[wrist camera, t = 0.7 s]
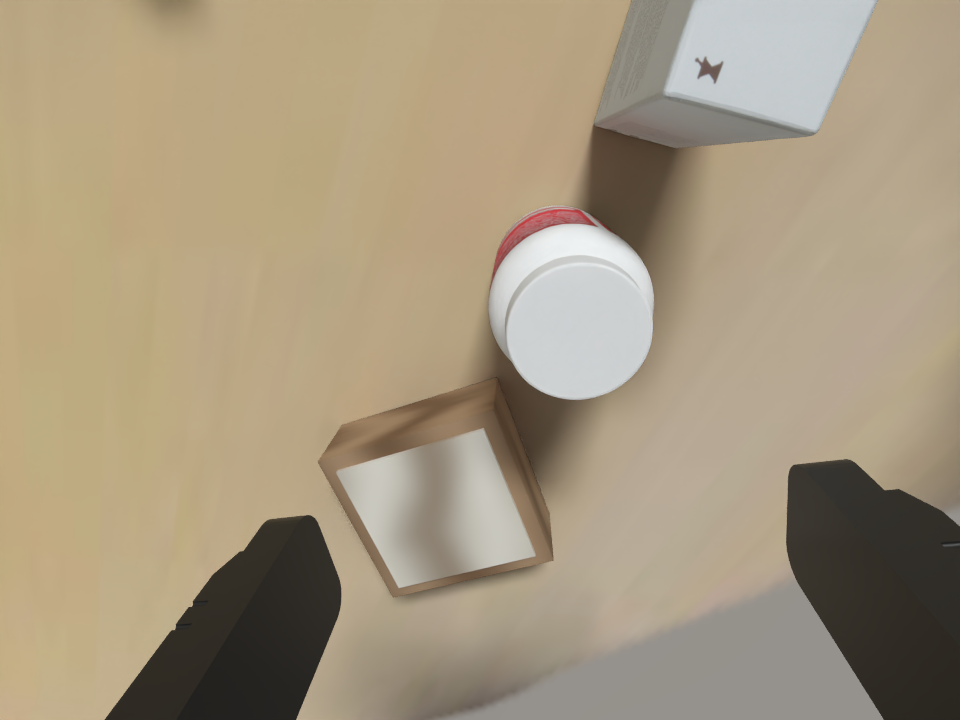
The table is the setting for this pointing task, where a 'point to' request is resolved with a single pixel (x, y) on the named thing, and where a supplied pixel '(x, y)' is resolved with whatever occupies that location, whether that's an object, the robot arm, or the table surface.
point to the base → (441, 490)
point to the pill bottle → (570, 303)
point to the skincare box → (729, 69)
